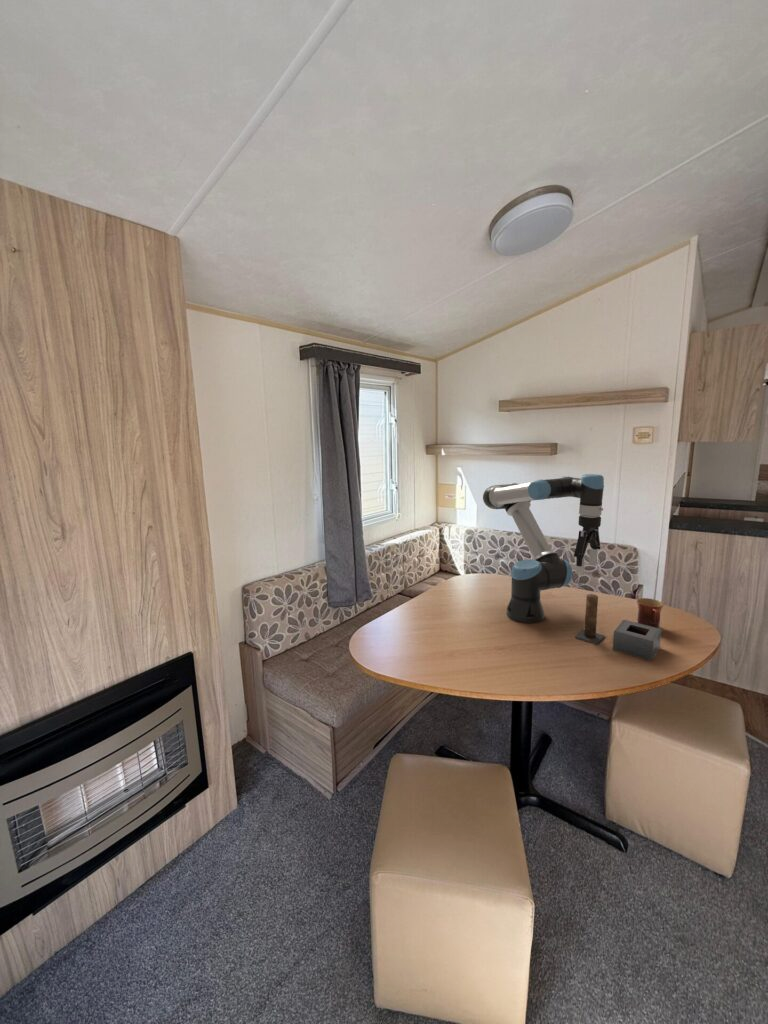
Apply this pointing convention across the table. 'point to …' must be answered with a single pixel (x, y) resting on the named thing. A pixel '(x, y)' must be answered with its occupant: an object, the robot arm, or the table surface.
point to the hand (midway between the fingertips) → (586, 569)
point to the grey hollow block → (637, 639)
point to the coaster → (591, 640)
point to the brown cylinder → (591, 616)
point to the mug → (649, 612)
